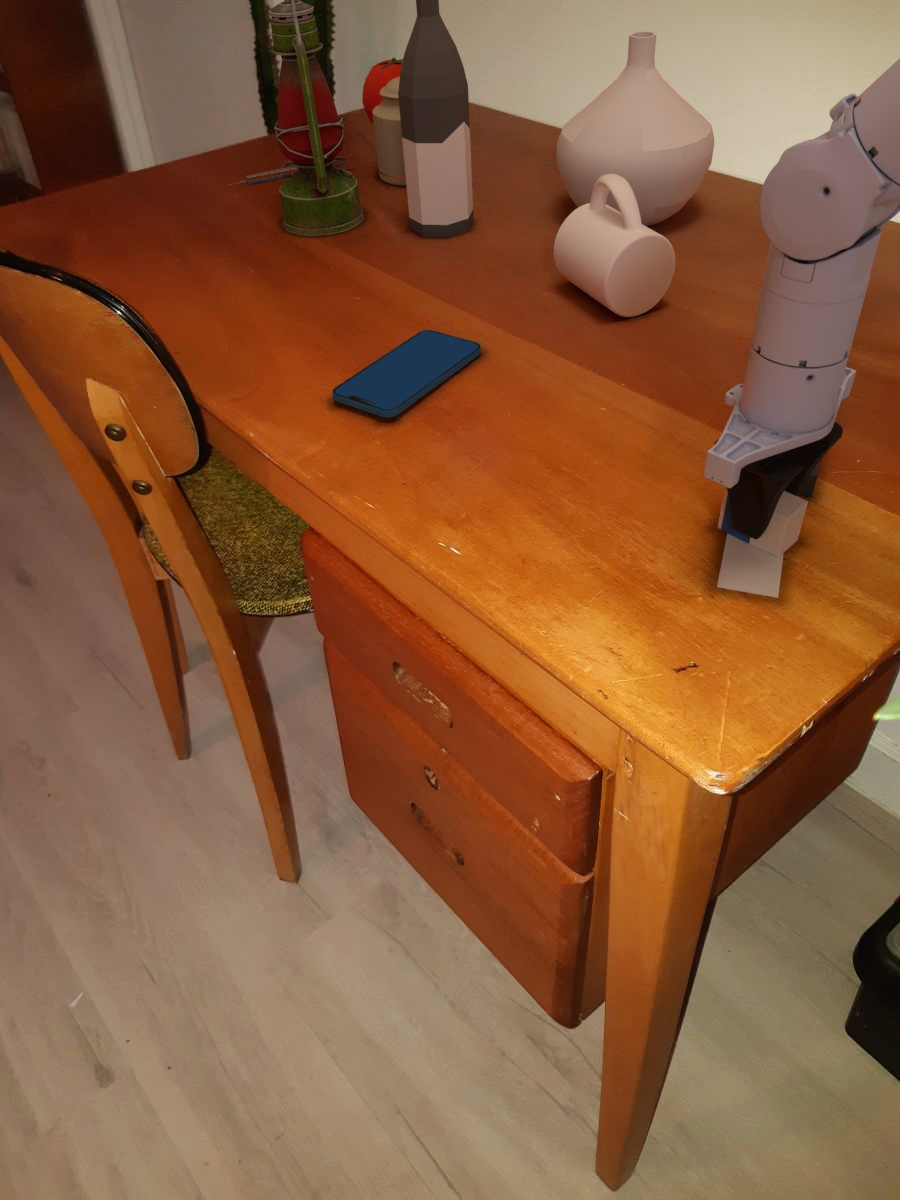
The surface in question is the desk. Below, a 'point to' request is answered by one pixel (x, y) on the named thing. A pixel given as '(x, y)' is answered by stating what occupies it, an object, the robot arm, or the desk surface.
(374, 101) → the tomato
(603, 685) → the desk surface
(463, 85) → the wine bottle
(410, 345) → the smartphone
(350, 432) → the desk surface
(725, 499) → the eraser
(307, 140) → the lantern
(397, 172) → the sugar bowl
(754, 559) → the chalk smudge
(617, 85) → the vase
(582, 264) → the mug
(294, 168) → the syringe
